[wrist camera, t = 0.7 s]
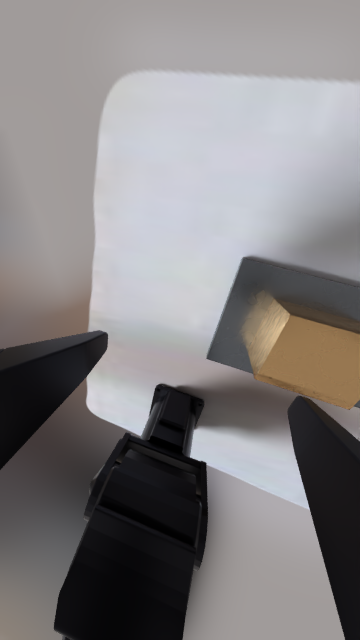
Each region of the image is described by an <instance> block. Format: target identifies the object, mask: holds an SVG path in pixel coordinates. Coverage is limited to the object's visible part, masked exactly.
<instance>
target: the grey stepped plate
mask: <svg viewBox="0 0 360 640" xmlns="http://www.w3.org/2000/svg"><path fill="white" fill-rule="evenodd" d="M273 298H275V299H279V300H282V301H286V302H290V303H293V304H297V305H300V306H304V307H308V308H311V309H315V310H319V311H322V312H326V313H330V314H333V315H337V316H341V317H344V318H348V319H352V320H355V321H359V322H360V288H359V287H355V286H351V285H347V284H343V283H339V282H335V281H331V280H327V279H323V278H319V277H315V276H311V275H307V274H303V273H300V272H296V271H292V270H288V269H284V268H280V267H276V266H272V265H268V264H264V263H260V262H256V261H252V260H248V259H244V258H242V259H241V262H240V265H239V268H238V270H237V273H236V276H235V279H234V281H233V284H232V287H231V290H230V292H229V295H228V298H227V301H226V303H225V306H224V309H223V312H222V314H221V317H220V320H219V323H218V325H217V328H216V331H215V334H214V336H213V339H212V342H211V345H210V347H209V350H208V353H207V358H206V359H209V360H212V361H215V362H218V363H221V364H224V365H228V366H231V367H234V368H237V369H240V370H243V371H246V372H249V373H252V374H253V370H252V366H251V362H250V358H249V354H248V349H249V347H250V345H251V343H252V341H253V339H254V337H255V335H256V333H257V330H258V328H259V326H260V324H261V322H262V320H263V318H264V316H265V314H266V312H267V310H268V308H269V306H270V304H271V302H272V300H273ZM354 406H355V407H358V408H360V400H359V401H358V402H357V403H356V404H355V405H354Z"/></svg>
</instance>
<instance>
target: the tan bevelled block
mask: <svg viewBox="0 0 360 640" xmlns="http://www.w3.org/2000/svg"><path fill="white" fill-rule="evenodd" d="M248 354H249V358H250V362H251V366H252V370H253V374H254V378H255V379H256V380H259V381H262V382H266V383H269V384H272V385H275V386H278V387H281V388H284V389H287V390H290V391H293V392H296V393H299V394H302V395H306V396H309V397H312V398H315V399H318V400H321V401H324V402H327V403H330V404H333V405H336V406H339V407H342V408H345V409H349V410H350V409H351V408H352V407H353V406H354V405H355V404H356V403H357V402H358V401H359V400H360V322H359V321H355V320H352V319H348V318H344V317H341V316H337V315H333V314H330V313H326V312H322V311H319V310H315V309H311V308H308V307H304V306H300V305H297V304H293V303H290V302H286V301H282V300H279V299H275V298H273V300H272V302H271V304H270V306H269V308H268V310H267V312H266V314H265V316H264V318H263V320H262V322H261V324H260V326H259V328H258V330H257V333H256V335H255V337H254V339H253V341H252V343H251V345H250V347H249V349H248Z"/></svg>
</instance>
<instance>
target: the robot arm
mask: <svg viewBox="0 0 360 640" xmlns="http://www.w3.org/2000/svg"><path fill="white" fill-rule="evenodd" d="M107 345H108V334H107V333H106V332H103V331H100V330H98V331H93V332H88V333H83V334H77V335H72V336H68V337H62V338H56V339H51V340H46V341H41V342H36V343H31V344H25V345H20V346H15V347H9V348H6V349H0V470H1V468H3V466H4V465H5V464H6V463H7V462H8V461H9V460H10V459H11V458H12V457H13V456H14V454H15V453H16V452H17V451H18V450H19V449H20V448H21V447H22V446H23V445H24V444H25V443H26V442H27V441H28V439H29V438H30V437H31V436H32V435H33V434H34V433H35V432H36V431H37V430H38V429H39V427H41V425H42V424H43V423H44V422H45V421H46V420H47V419H48V418H49V417H50V416H51V415H52V414H53V412H54V411H55V410H56V409H57V408H58V407H59V406H60V405H61V404H62V403H63V402H64V400H65V399H66V398H67V397H68V396H69V395H70V394H71V393H72V392H73V391H74V390H75V389H76V388H77V386H79V384H80V383H81V382H82V381H83V380H84V379H85V378H86V377H87V375H88V374H89V373H90V372H91V370H92V369H93V368H94V366H95V365H96V364H97V362H98V361H99V360H100V358H101V357H102V356H103V354H104V353H105V352H106V350H107ZM200 403H201V404H200ZM203 407H204V401H203V400H202V399H199V398H196V397H193V396H190V395H187V394H184V393H182V392H179V391H176V390H173V389H170V388H167V387H164V386H161V385H157V386H156V388H155V392H154V396H153V401H152V405H151V409H150V414H149V419H148V421H147V423H146V426H145V428H144V431H143V433H142V435H141V438H138V437H136V436H133V435H131V433H128V432H126V433H125V435H124V437H123V438H122V439H120V440H119V441H118V443H117V445H116V447H115V449H114V450H113V452H112V454H111V455H110V457H109V459H108V460H107V462H106V463H105V464H104V465H103V467H102V468H101V469H100V471H99V472H98V474H96V476H95V477H94V478H93V480H92V481H91V483H90V486H89V492H90V497H89V500H88V503H87V506H86V509H85V513H84V519H85V520H87V521H88V524H87V526H86V528H85V531H84V533H83V536H82V538H81V541H80V543H79V546H78V548H77V551H76V553H75V556H74V558H73V561H72V563H71V565H70V568H69V571H68V574H67V577H66V579H65V581H64V584H63V586H62V588H61V590H60V593H59V597H58V603H57V609H56V615H55V622H54V630H55V631H56V632H58V633H60V634H62V635H63V639H62V640H182V639H183V631H184V623H185V615H186V610H187V603H188V598H189V592H190V586H191V581H192V575H193V569H194V570H196V571H197V570H199V568H200V565H201V562H202V558H203V554H204V549H205V542H206V535H207V522H208V506H207V505H208V503H207V471H206V462H203V461H198V460H195V459H193V458H190V453H191V446H192V439H193V432H194V428H195V426H196V424H197V421H198V419H199V416H200V414H201V412H202V409H203ZM288 419H289V424H290V430H291V436H292V442H293V447H294V452H295V456H296V460H297V464H298V467H299V471H300V475H301V478H302V482H303V486H304V489H305V493H306V497H307V500H308V504H309V508H310V512H311V515H312V519H313V523H314V526H315V530H316V534H317V537H318V541H319V545H320V548H321V552H322V556H323V559H324V563H325V567H326V570H327V574H328V577H329V582H330V585H331V589H332V592H333V596H334V600H335V604H336V607H337V611H338V615H339V618H340V622H341V626H342V629H343V632H344V637H345V640H360V441H359V440H357V439H356V438H355V437H354V436H353V435H351V434H350V433H349V432H348V431H347V430H346V429H344V428H343V427H342V426H341V425H340V424H339V423H337V422H336V421H335V420H334V419H333V418H331V417H330V416H329V415H328V414H327V413H326V412H324V411H323V410H322V409H321V408H320V407H319V406H317V405H316V404H315V403H314V402H313V401H312V400H310V399H308V398H305V397H302V396H297V397H296V398H295V400H294V401H293V403H292V404H291V405H290V407H289V408H288Z"/></svg>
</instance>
